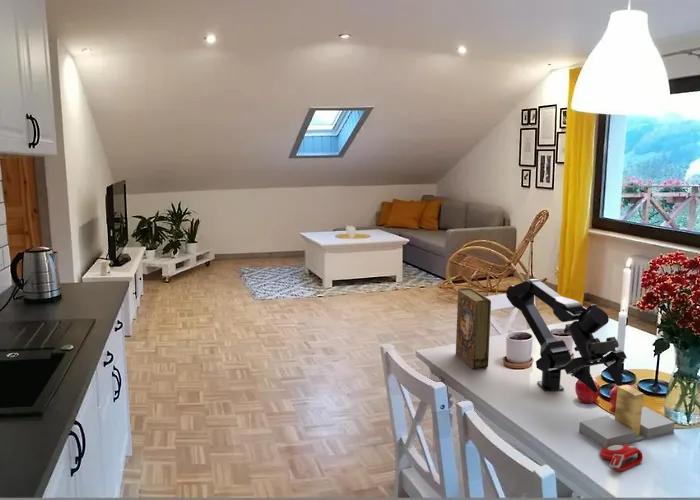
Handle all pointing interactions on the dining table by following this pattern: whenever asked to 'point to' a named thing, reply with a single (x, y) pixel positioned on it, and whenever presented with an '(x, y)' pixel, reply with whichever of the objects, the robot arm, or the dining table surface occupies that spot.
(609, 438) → the slotted board
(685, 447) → the dining table surface
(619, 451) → the tracker holder
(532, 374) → the dining table surface
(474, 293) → the book
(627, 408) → the ochre block
